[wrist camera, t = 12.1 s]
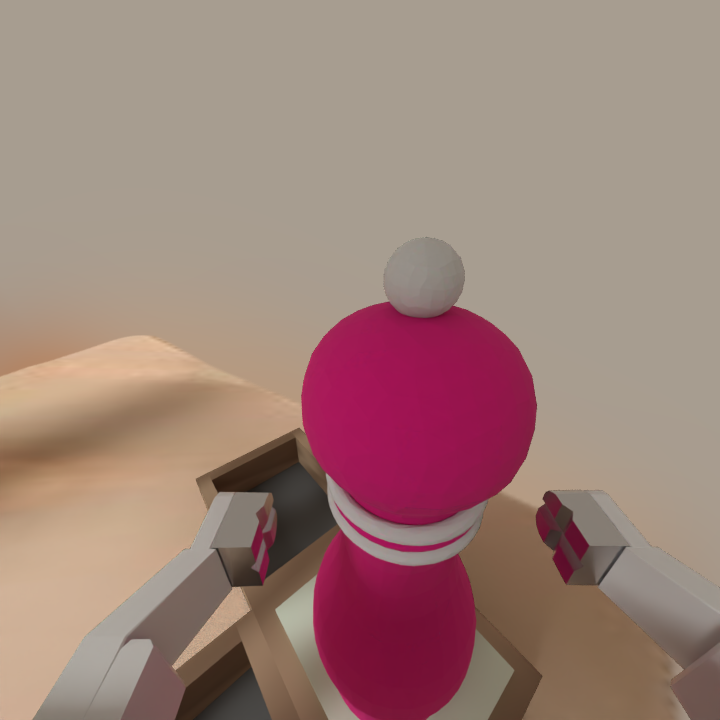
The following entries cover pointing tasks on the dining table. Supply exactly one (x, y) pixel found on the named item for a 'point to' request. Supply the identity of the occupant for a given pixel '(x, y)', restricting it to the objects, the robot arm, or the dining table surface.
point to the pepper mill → (409, 480)
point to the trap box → (295, 616)
